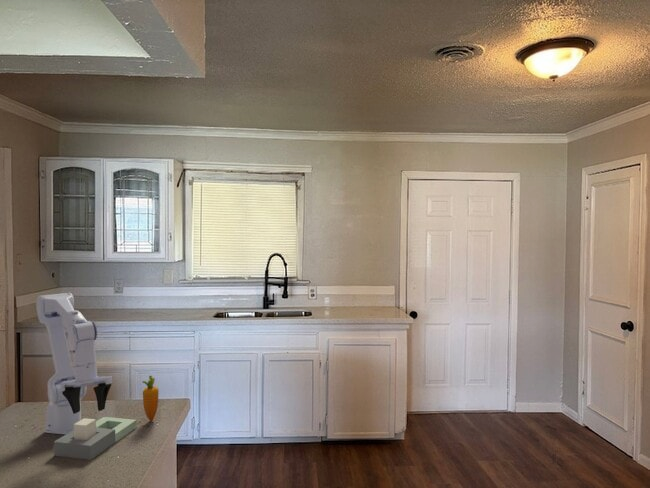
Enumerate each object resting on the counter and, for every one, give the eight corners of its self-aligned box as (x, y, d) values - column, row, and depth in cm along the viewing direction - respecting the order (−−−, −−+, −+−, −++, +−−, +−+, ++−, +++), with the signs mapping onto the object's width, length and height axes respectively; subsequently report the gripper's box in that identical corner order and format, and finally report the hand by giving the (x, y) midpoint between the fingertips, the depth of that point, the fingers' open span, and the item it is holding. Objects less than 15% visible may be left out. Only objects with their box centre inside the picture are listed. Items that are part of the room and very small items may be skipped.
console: (91, 459, 121) (90, 445, 120) (54, 455, 123) (53, 441, 123) (136, 427, 140) (136, 415, 140) (103, 424, 143) (103, 412, 142)
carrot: (153, 425, 142) (152, 379, 141) (140, 423, 143) (139, 378, 142) (162, 418, 147) (161, 374, 146) (149, 417, 148) (148, 373, 147)
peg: (74, 444, 125) (73, 424, 125) (84, 438, 129) (84, 418, 129) (86, 446, 124) (85, 425, 124) (96, 439, 128) (95, 419, 128)
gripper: (52, 369, 124) (56, 418, 123) (100, 364, 123) (105, 413, 122) (68, 364, 131) (72, 410, 130) (114, 359, 130) (118, 405, 129)
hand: (89, 411), depth 127 cm, fingers open, 7 cm apart
